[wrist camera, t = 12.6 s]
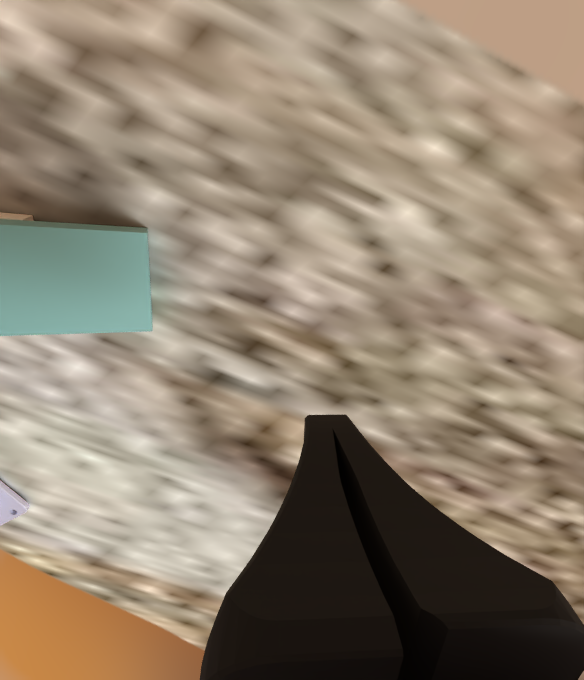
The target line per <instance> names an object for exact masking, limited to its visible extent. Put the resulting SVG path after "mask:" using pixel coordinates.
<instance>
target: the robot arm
mask: <svg viewBox="0 0 584 680" xmlns="http://www.w3.org/2000/svg"><path fill="white" fill-rule="evenodd" d="M29 507H30V506H29V504H28V503H27V502H26V501H25V500H24V499H23V498H21V497H20V496H19V495H18V494H17V493H15V492H14V491H13V490H12V489H10V488H9V487H8V486H7V485H6V484H4V483H3V482H2V481H1V480H0V525H2V524H4V523H6V522H8V521H10V520H12V519H14V518H16V517H18V516H20V515H22V514H24V513H26V512H27V510H28V509H29ZM583 671H584V625H583V623H582V622H581V620H580V619H579V617H578V616H577V614H576V613H575V611H574V610H573V608H572V607H571V605H570V604H569V602H568V601H567V600H566V598H565V597H564V596H563V594H562V593H561V592H560V591H559V589H558V588H557V587H556V585H555V584H554V583H553V582H552V581H551V580H549V579H547V578H545V577H544V576H542V575H540V574H538V573H536V572H535V571H533V570H531V569H529V568H527V567H526V566H524V565H522V564H520V563H518V562H517V561H515V560H513V559H511V558H509V557H508V556H506V555H504V554H503V553H501V552H499V551H498V550H496V549H495V548H493V547H491V546H490V545H488V544H487V543H485V542H483V541H482V540H480V539H479V538H477V537H476V536H474V535H473V534H471V533H470V532H468V531H467V530H465V529H464V528H462V527H461V526H460V525H458V524H457V523H455V522H454V521H453V520H451V519H450V518H449V517H447V516H446V515H445V514H443V513H442V512H440V511H439V510H438V509H437V508H435V507H434V506H433V505H432V504H430V503H429V502H428V501H427V500H425V499H424V498H423V497H422V496H421V495H420V494H418V493H417V492H416V491H415V490H414V489H413V488H411V487H410V486H409V485H408V484H407V483H406V482H405V481H404V480H403V479H402V478H401V477H400V476H399V475H398V474H397V473H396V472H395V471H394V470H393V469H392V468H391V467H390V466H389V465H388V464H387V463H386V462H385V461H384V460H383V458H382V457H381V456H380V455H379V454H378V453H377V452H376V451H375V450H374V448H373V447H372V446H371V445H370V444H369V443H368V441H367V440H366V439H365V438H364V436H363V435H362V434H361V433H360V432H359V430H358V429H357V428H356V426H355V425H354V424H353V423H352V421H351V420H350V419H349V417H348V416H347V415H308V416H307V417H306V418H305V429H304V444H303V448H302V452H301V456H300V460H299V463H298V466H297V469H296V472H295V475H294V477H293V480H292V483H291V485H290V488H289V490H288V493H287V495H286V497H285V499H284V501H283V504H282V506H281V508H280V510H279V512H278V514H277V516H276V518H275V520H274V521H273V523H272V525H271V527H270V529H269V530H268V532H267V534H266V536H265V537H264V539H263V540H262V542H261V544H260V545H259V547H258V548H257V550H256V552H255V553H254V555H253V556H252V558H251V559H250V561H249V562H248V564H247V565H246V567H245V568H244V569H243V571H242V572H241V574H240V575H239V576H238V578H237V579H236V580H235V582H234V583H233V584H232V586H231V587H230V589H229V590H228V591H227V593H226V595H225V597H224V600H223V602H222V605H221V607H220V609H219V612H218V614H217V617H216V620H215V622H214V625H213V627H212V630H211V633H210V636H209V639H208V642H207V646H206V649H205V653H204V657H203V662H202V666H201V675H200V680H578V678H579V677H580V675H581V674H582V672H583Z"/></svg>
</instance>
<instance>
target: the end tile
mask: <svg viewBox="0 0 584 680" xmlns="http://www.w3.org/2000/svg"><path fill="white" fill-rule="evenodd" d="M142 331H152V307H151V287H150V268H149V249H148V229H147V228H141V227H124V226H108V225H92V224H76V223H59V222H43V221H27V220H10V219H0V336H12V335H45V334H77V333H110V332H142Z"/></svg>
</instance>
